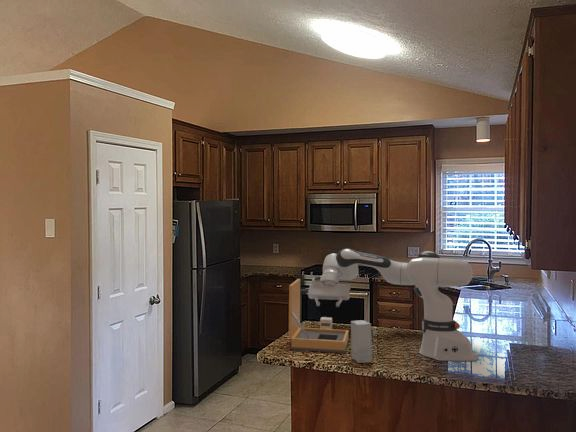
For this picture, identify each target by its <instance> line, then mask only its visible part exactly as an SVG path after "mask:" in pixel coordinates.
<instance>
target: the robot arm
mask: <svg viewBox="0 0 576 432" xmlns="http://www.w3.org/2000/svg"><path fill="white" fill-rule="evenodd" d="M359 266H364V267H370V268H373V269H375V270H377V271H378V273H380V275H381V277H382V278H383V279H384V280H385V281H386V282H387V283H389V284H391V285H399V286H414V287H412V289H413V290H414V292H415V295H417V296H418V297H420V298H421V299H422V301H423V317H422V327H421V328H422V340H421V345H420V348H419V352H418V353H419V354H420V355H421V356H423V357H427V358H429V359H430V358H431V359H434V360H437V361H445V362H446V361H448V362H449V361H450V362H452V361H453V362H454V361H455V362H456V361H458V362H461V361H462V362H464V361H465V362H467V361H468V362H473V361H474V362H477V360H478V359H479V355H478V353H477V352H476V351H475V350H473V347H472V343H471V341H470V339H469V338H468V337H467V336H466V335H464V333H462V332H461V331H459V330H458V329H460V328H461V326H460V323H458V322H457V321H456V320H454V319H453V308H454V307H453V306H454V304H453V301H452V299H451V298H450V297H449V296H448V295H447V294H445V293H442V292H441V291H440V290H439V288H448V287H449V288H451V287H462V286H468V285H469V284H470V282H471V281H472V279H473V277H474V275H473V274H474V272H473V267H472V265H471V264H470V263H469V262H468V261H466V260H461V259H457V258H446V257H444V258H441V256H440V255H439V254H438V253H435V252H434V251H432V250H431V251H430V250H425V251H422V252H419V253H418V254H417V257H414V258H411V259H410V260H409V262H403V261H402V262H400V261H395V260H392V259H390V258H388V257H385V256H382V255H378V254H372V253H366V252H361V251H357V250H355V249H352V248H349V247H348V248H342V249H340V250H339V251H338V252H337V253H330V254H328V255H326V256H325V258H324V261H323V264H322V275H319V276H315V277H313V278H312V279H311V283H310V284H309V287H308V291H307V296H308V299H310V300H314V301H315V303H316V307H320V305H321V302H320V301H318V300H337V301H336V302H335V308H339V307H340V305H341V303H342V302H343V301H348V300H349V299H350V290H351V287H352V285H351V284H350V283H348V282H340V281H354V280H355V279H357V278H358V276H359V273H360V272H359Z"/></svg>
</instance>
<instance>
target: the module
mask: <svg viewBox="0 0 576 432" xmlns="http://www.w3.org/2000/svg"><path fill="white" fill-rule="evenodd" d="M319 329H333V317H331V316H330V317H329V316H328V317H327V316H322V317H320V319H319Z"/></svg>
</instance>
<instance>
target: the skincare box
mask: <svg viewBox="0 0 576 432" xmlns="http://www.w3.org/2000/svg"><path fill="white" fill-rule="evenodd" d="M350 347H351V349H350V350H351V352H350V353H351V359H353V360H354V361H355V362H356V363H357V364H359V363H361V364H362V363H365V364H366V363H372V362H373V356H372V355H373V352H372V350H373V349H372V347H373V345H372V323H370V322H368V321H366V320H364V319H363V320H361V319H360V320H357V319H356V320H351V321H350Z"/></svg>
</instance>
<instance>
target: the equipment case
mask: <svg viewBox="0 0 576 432" xmlns="http://www.w3.org/2000/svg"><path fill="white" fill-rule="evenodd" d="M288 290H289V292H288V293H289V294H288V339H291V344H290V345H291V348H290V349H291V350H296V351H309V352H310V351H312V352H323V353H324V352H326V353H327V352H328V353H340V354H341V353H343V354H345V353H346V350H347V347H348V344H349V333H350V332H349V329H334V328H332V329H320V327H319V328H317V327H316V328H315V327H304V326H303V325H302V324H301V278H297V279H296V280H295V281H293V282H292V283H291V284H289V287H288Z"/></svg>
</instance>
